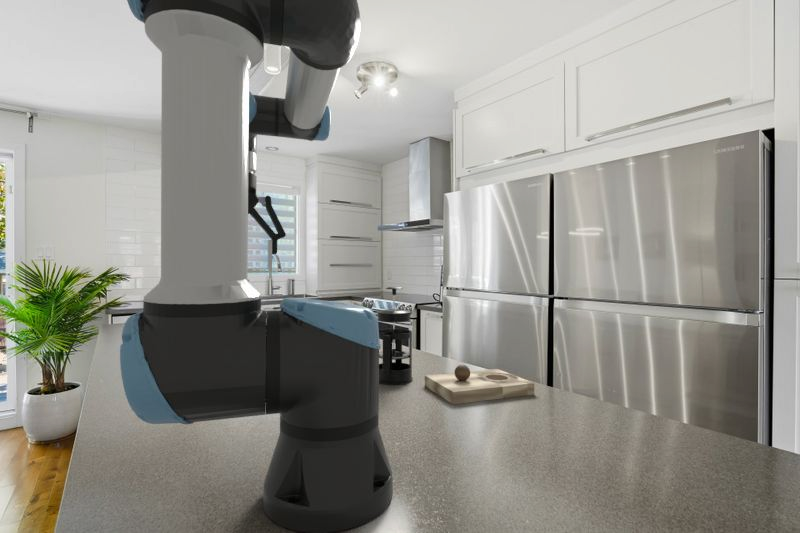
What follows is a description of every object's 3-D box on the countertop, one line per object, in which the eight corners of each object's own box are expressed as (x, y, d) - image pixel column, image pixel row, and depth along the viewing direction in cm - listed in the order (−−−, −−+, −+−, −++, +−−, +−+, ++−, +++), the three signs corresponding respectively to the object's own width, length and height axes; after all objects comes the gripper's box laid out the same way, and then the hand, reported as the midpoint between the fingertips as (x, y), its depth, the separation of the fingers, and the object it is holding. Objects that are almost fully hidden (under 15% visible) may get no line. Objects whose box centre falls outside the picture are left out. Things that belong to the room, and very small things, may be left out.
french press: (382, 373, 109) (382, 285, 109) (417, 375, 106) (417, 286, 106) (366, 385, 97) (367, 287, 98) (405, 388, 95) (405, 288, 95)
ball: (473, 381, 91) (473, 366, 91) (459, 383, 90) (459, 367, 90) (465, 378, 94) (465, 362, 94) (451, 379, 93) (451, 363, 93)
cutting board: (534, 394, 90) (534, 383, 91) (453, 404, 83) (453, 391, 83) (497, 378, 104) (497, 368, 104) (424, 386, 97) (424, 375, 97)
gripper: (294, 181, 99) (293, 269, 99) (177, 171, 90) (175, 268, 90) (298, 174, 92) (297, 269, 92) (172, 162, 83) (170, 268, 83)
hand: (237, 268), depth 91 cm, fingers open, 13 cm apart
